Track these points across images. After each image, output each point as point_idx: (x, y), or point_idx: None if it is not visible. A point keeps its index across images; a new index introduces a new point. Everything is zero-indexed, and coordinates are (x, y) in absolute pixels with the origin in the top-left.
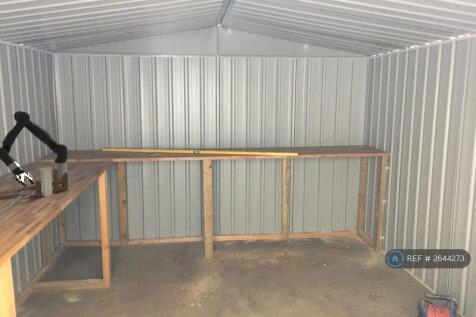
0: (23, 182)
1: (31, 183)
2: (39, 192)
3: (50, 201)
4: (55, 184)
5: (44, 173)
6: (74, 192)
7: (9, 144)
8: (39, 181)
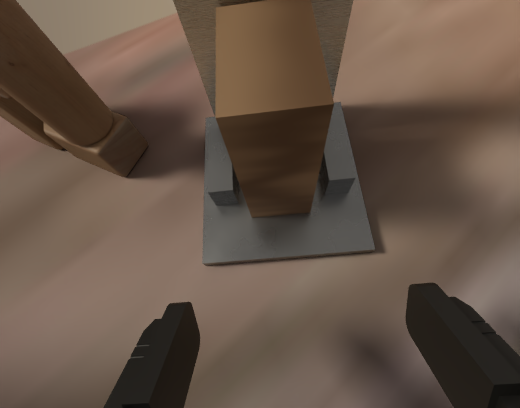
0: (501, 371)
1: (193, 369)
2: (337, 128)
3: (403, 4)
4: (92, 92)
5: None
6: (125, 39)
7: None
8: (314, 33)
